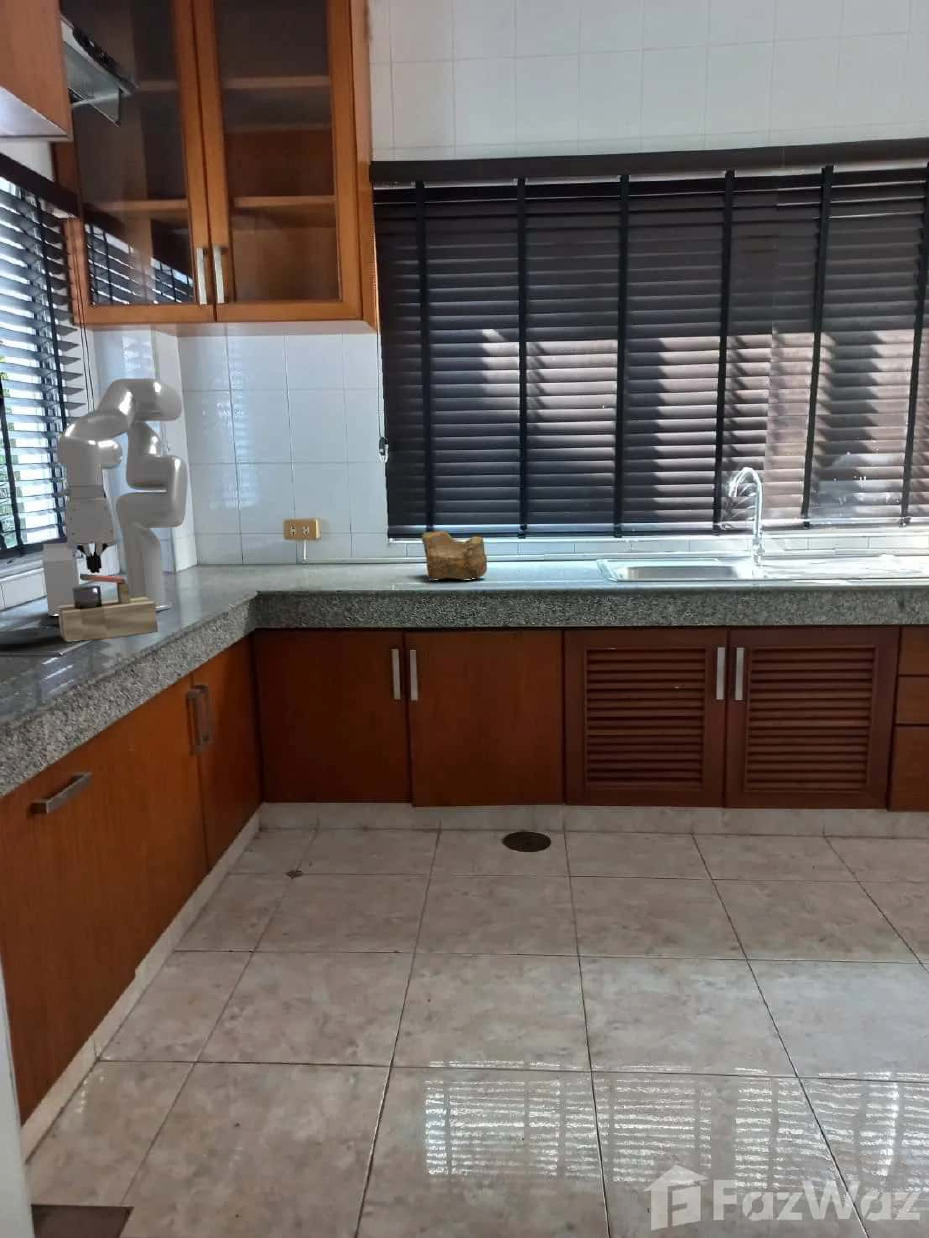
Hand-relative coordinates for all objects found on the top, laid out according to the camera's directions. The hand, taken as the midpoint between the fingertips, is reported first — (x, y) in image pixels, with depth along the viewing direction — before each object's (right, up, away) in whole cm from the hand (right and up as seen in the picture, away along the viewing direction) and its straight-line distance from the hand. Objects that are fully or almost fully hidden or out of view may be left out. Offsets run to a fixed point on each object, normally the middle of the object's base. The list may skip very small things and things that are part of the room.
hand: (94, 572), depth 197 cm
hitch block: (+2, -14, +4) cm, 15 cm away
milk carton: (-20, -10, +27) cm, 35 cm away
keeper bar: (+1, -2, +1) cm, 3 cm away
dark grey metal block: (-2, -14, +2) cm, 15 cm away
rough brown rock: (+81, +2, +76) cm, 111 cm away
